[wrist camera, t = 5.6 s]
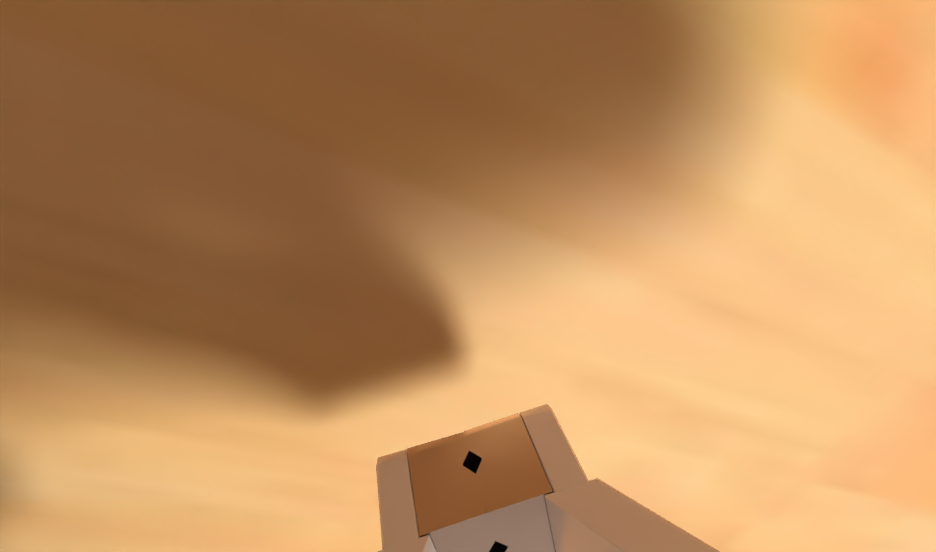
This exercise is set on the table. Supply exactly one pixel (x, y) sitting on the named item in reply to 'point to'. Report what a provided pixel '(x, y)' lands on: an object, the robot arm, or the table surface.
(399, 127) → the table surface
